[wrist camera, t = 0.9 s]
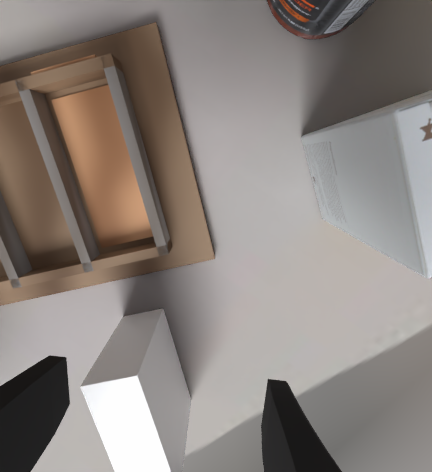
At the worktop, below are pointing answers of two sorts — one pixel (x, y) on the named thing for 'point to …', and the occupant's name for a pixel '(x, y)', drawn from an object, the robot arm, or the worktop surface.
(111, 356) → the blanking panel
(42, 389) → the robot arm
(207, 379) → the worktop surface
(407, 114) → the small box
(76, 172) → the slot rack
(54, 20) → the worktop surface
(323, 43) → the worktop surface
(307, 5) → the supplement bottle
